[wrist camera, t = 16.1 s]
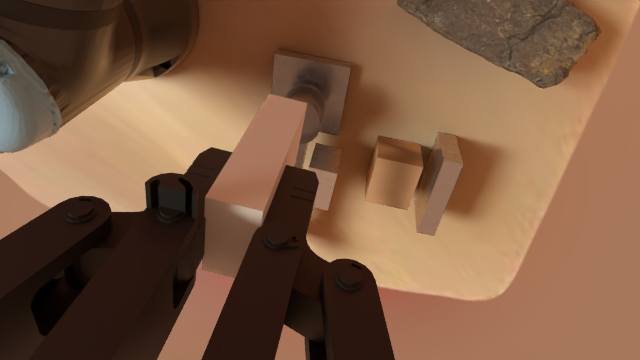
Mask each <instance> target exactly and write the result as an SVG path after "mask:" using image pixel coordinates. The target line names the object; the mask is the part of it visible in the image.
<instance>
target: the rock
mask: <svg viewBox="0 0 640 360" xmlns="http://www.w3.org/2000/svg"><path fill="white" fill-rule="evenodd" d="M397 3H398V5H399V6H400V7H401V8H403V9H404V10H406V11H407V12H408V13H410V14H412V15H414V16H415V17H417V18H418V19H420V20H421V21H422V22H423V23H425V24H426V25H427V26H429V27H430V28H432V29H433V30H434V31H435V32H437V33H439V34H440V35H442V36H443V37H445V38H447V39H449V40H451V41H453V42H455V43H457V44H458V45H460V46H462V47H463V48H465V49H467V50H469V51H470V52H473V53H475V54H477V55H479V56H481V57H483V58H484V59H486V60H488V61H489V62H491V63H493V64H495V65H497V66H499V67H502V68H504V69H506V70H508V71H510V72H515V73H517V74H519V75H521V76H522V77H524V78H526V79H528V80H529V81H531V82H532V83H534V84H535V85H536V86H538V87H540V88H547V87H551V86H554V85H557V84H559V83H560V82H562V81H563V80H564V79H565V78H566V77H568V74H569V72H570V70H571V69H572V67H573V66H574V65H575V64H576V63H577V60H578V59H579V58H580V57H581V56H583V55H584V54H586V53H587V48H586V47H587V46H588V45H589V44H592V43H593V41H594V40H596V39H597V36H599V34H600V33H601V30H600V27H599V26H598V25H597V24H596V22H595V21H594V20H593V19H592V18H591V17H590V16H588V15H587V14H585V13H583V12H581V11H580V10H579V9H578V8H577V7H576V6H575V5H574V4H572V3H569V2H568V1H566V0H398V1H397Z"/></svg>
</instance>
